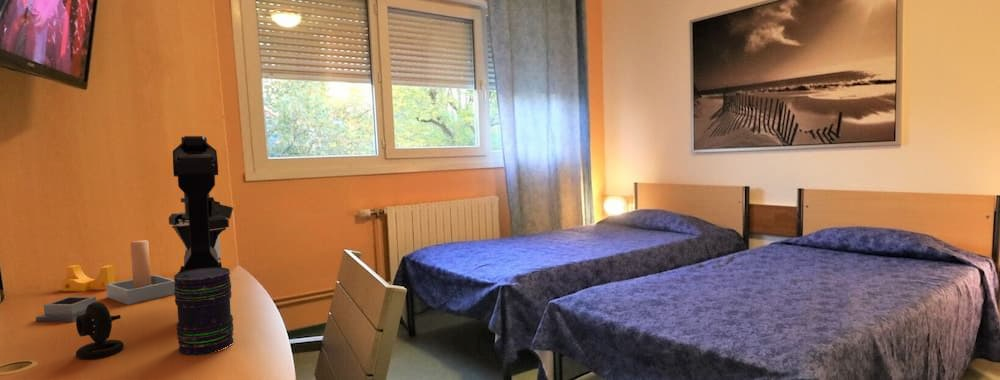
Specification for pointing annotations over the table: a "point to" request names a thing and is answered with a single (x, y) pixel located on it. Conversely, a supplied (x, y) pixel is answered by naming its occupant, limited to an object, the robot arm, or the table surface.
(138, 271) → the tan rounded tapered piece
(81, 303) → the stud base
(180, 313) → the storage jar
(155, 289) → the bin
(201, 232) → the robot arm
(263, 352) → the table surface
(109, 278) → the pipe clamp
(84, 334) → the webcam
